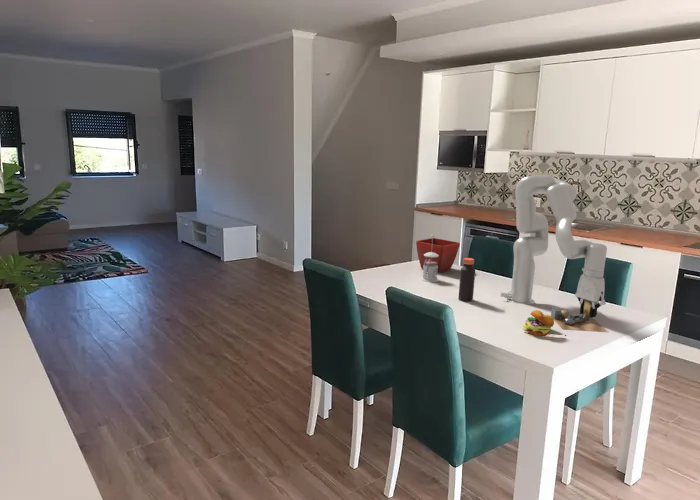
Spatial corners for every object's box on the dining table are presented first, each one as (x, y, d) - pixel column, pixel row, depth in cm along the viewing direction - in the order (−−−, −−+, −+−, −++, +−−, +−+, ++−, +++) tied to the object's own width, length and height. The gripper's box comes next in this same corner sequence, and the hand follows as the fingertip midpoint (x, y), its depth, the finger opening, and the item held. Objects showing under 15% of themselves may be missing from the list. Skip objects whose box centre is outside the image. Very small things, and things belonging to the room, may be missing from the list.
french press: (441, 279, 280) (444, 234, 275) (433, 283, 270) (436, 237, 265) (425, 276, 285) (428, 232, 280) (416, 280, 275) (419, 235, 270)
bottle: (475, 300, 243) (479, 259, 239) (468, 302, 238) (471, 261, 234) (463, 296, 248) (466, 256, 244) (455, 299, 243) (458, 258, 239)
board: (562, 332, 204) (562, 329, 203) (549, 318, 220) (549, 315, 220) (608, 335, 202) (609, 332, 202) (592, 320, 219) (592, 318, 219)
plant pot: (458, 270, 303) (460, 242, 299) (440, 275, 289) (442, 246, 286) (431, 264, 316) (433, 237, 312) (413, 268, 302) (415, 241, 299)
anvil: (554, 319, 215) (555, 310, 214) (550, 315, 220) (551, 306, 219) (560, 320, 215) (561, 310, 214) (556, 316, 220) (557, 307, 219)
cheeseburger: (516, 327, 207) (524, 304, 205) (540, 333, 208) (548, 311, 206) (527, 336, 197) (536, 312, 195) (552, 342, 198) (561, 319, 197)
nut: (560, 319, 215) (561, 311, 215) (558, 316, 219) (559, 308, 218) (569, 320, 215) (570, 311, 214) (566, 317, 219) (567, 309, 218)
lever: (570, 326, 207) (573, 305, 205) (559, 322, 212) (562, 301, 210) (594, 321, 214) (597, 301, 212) (583, 317, 219) (586, 297, 217)
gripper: (570, 269, 216) (565, 310, 220) (605, 279, 202) (599, 322, 206) (582, 268, 220) (576, 308, 224) (617, 277, 205) (611, 320, 209)
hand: (587, 314), depth 214 cm, fingers closed on lever, 4 cm apart
